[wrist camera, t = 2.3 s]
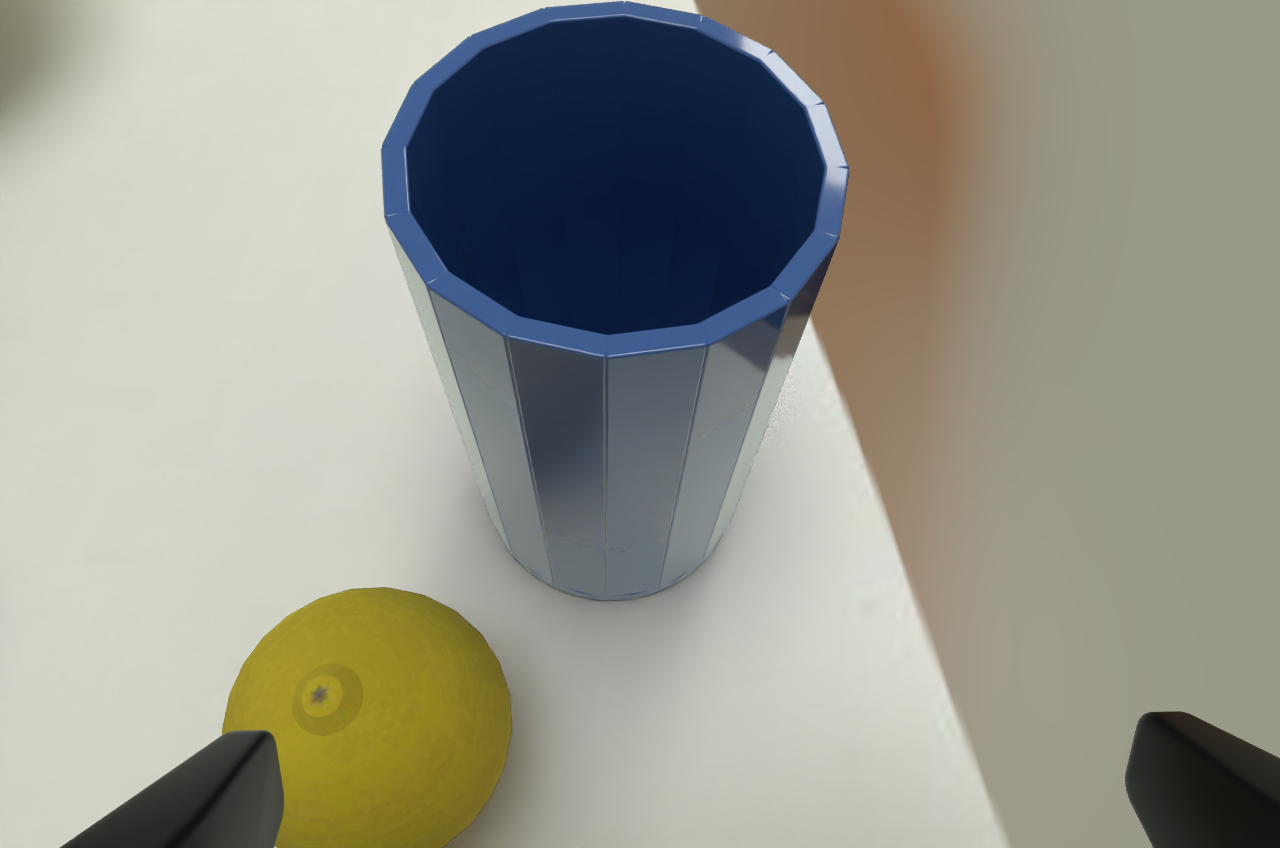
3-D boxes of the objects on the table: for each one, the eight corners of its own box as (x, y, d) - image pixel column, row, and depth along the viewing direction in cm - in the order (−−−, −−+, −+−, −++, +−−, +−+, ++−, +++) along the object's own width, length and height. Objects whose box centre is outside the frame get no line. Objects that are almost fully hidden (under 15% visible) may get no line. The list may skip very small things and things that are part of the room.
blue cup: (758, 579, 24) (907, 320, 12) (500, 620, 23) (390, 386, 11) (706, 360, 27) (784, -14, 15) (477, 389, 26) (374, 19, 14)
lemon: (419, 593, 23) (335, 481, 16) (570, 731, 22) (554, 674, 14) (256, 761, 21) (76, 716, 14) (412, 924, 20) (301, 970, 12)
